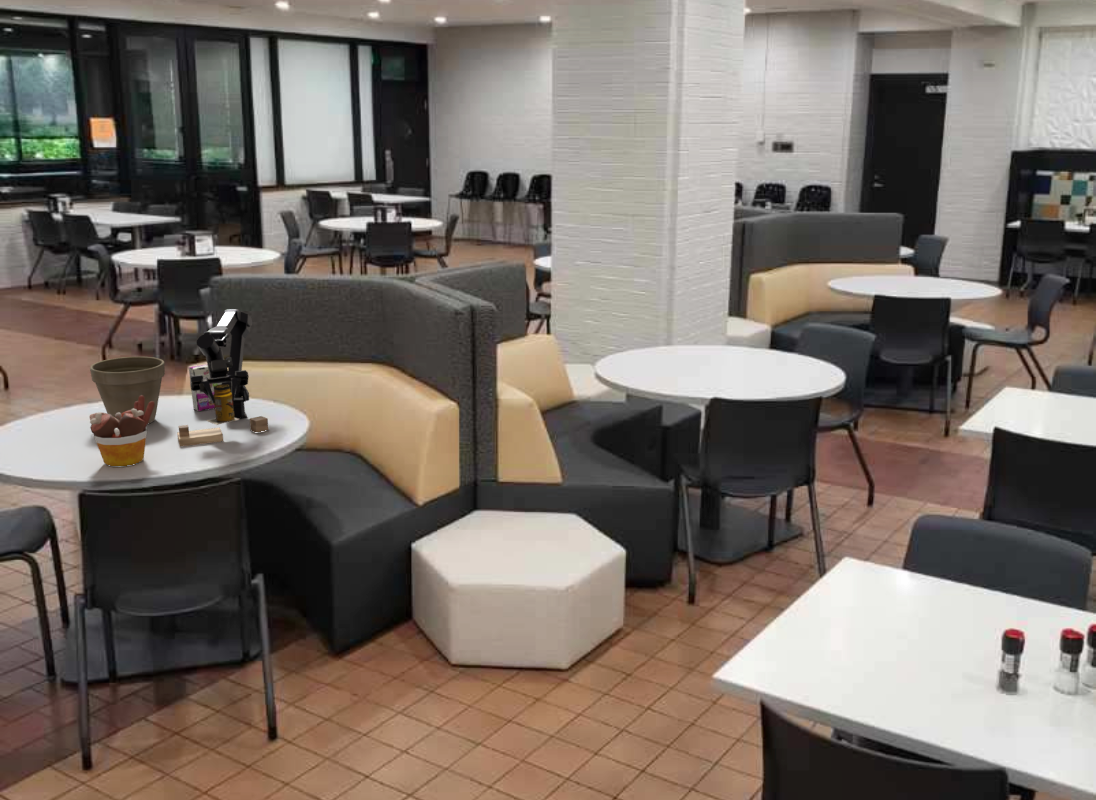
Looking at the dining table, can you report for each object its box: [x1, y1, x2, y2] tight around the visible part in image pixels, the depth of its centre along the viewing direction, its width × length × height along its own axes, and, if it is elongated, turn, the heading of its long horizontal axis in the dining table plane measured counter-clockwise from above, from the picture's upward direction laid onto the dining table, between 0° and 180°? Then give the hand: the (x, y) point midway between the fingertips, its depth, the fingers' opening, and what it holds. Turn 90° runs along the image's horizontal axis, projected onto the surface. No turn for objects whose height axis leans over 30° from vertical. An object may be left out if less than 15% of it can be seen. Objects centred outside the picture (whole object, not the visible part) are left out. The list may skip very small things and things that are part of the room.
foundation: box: [177, 424, 224, 447], centre depth 366 cm, size 9×14×6 cm, turn 112°
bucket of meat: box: [89, 395, 155, 467], centre depth 342 cm, size 20×16×20 cm
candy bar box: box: [188, 363, 222, 412], centre depth 406 cm, size 11×5×16 cm, turn 130°
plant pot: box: [89, 356, 166, 424], centre depth 387 cm, size 25×25×22 cm
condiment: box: [206, 384, 240, 426], centre depth 364 cm, size 7×8×12 cm
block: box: [249, 415, 269, 433], centre depth 376 cm, size 4×4×4 cm
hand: (223, 401), depth 363 cm, fingers closed on condiment, 6 cm apart
